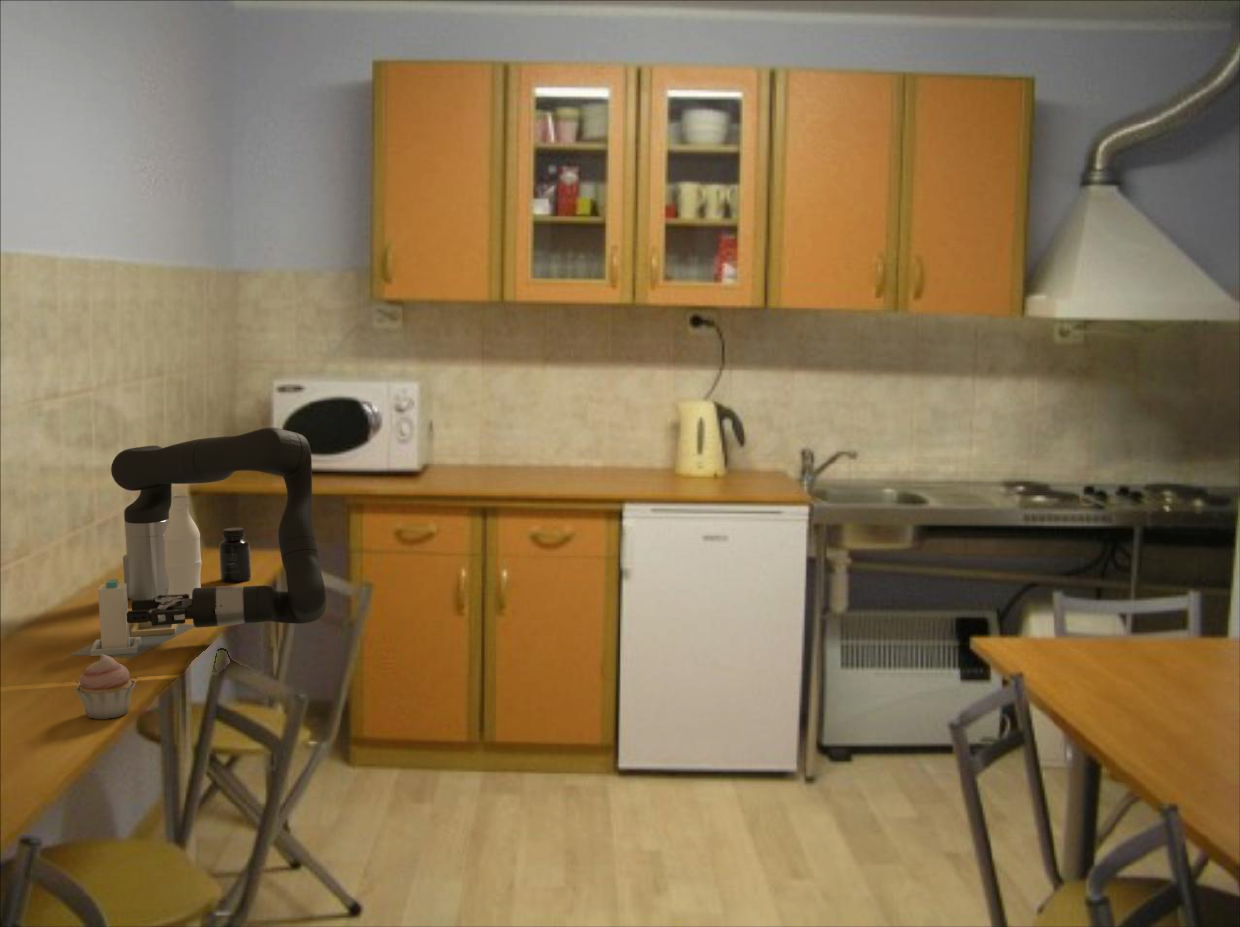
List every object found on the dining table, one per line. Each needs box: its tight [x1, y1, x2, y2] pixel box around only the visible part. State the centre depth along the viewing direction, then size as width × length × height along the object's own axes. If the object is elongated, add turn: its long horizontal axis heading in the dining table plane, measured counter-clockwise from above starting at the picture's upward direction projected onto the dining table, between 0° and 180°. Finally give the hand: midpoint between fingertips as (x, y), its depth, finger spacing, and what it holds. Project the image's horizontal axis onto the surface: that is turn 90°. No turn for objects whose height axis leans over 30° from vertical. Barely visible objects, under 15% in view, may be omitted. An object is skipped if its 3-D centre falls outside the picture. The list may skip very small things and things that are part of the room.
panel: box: [69, 621, 196, 659], centre depth 267 cm, size 13×25×2 cm, turn 169°
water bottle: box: [164, 495, 203, 599], centre depth 286 cm, size 7×7×25 cm
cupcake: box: [74, 654, 137, 720], centre depth 223 cm, size 9×9×10 cm
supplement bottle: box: [218, 527, 252, 583], centre depth 320 cm, size 7×7×12 cm
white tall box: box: [97, 578, 130, 649], centre depth 260 cm, size 4×4×13 cm
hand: (129, 611), depth 260 cm, fingers open, 8 cm apart
